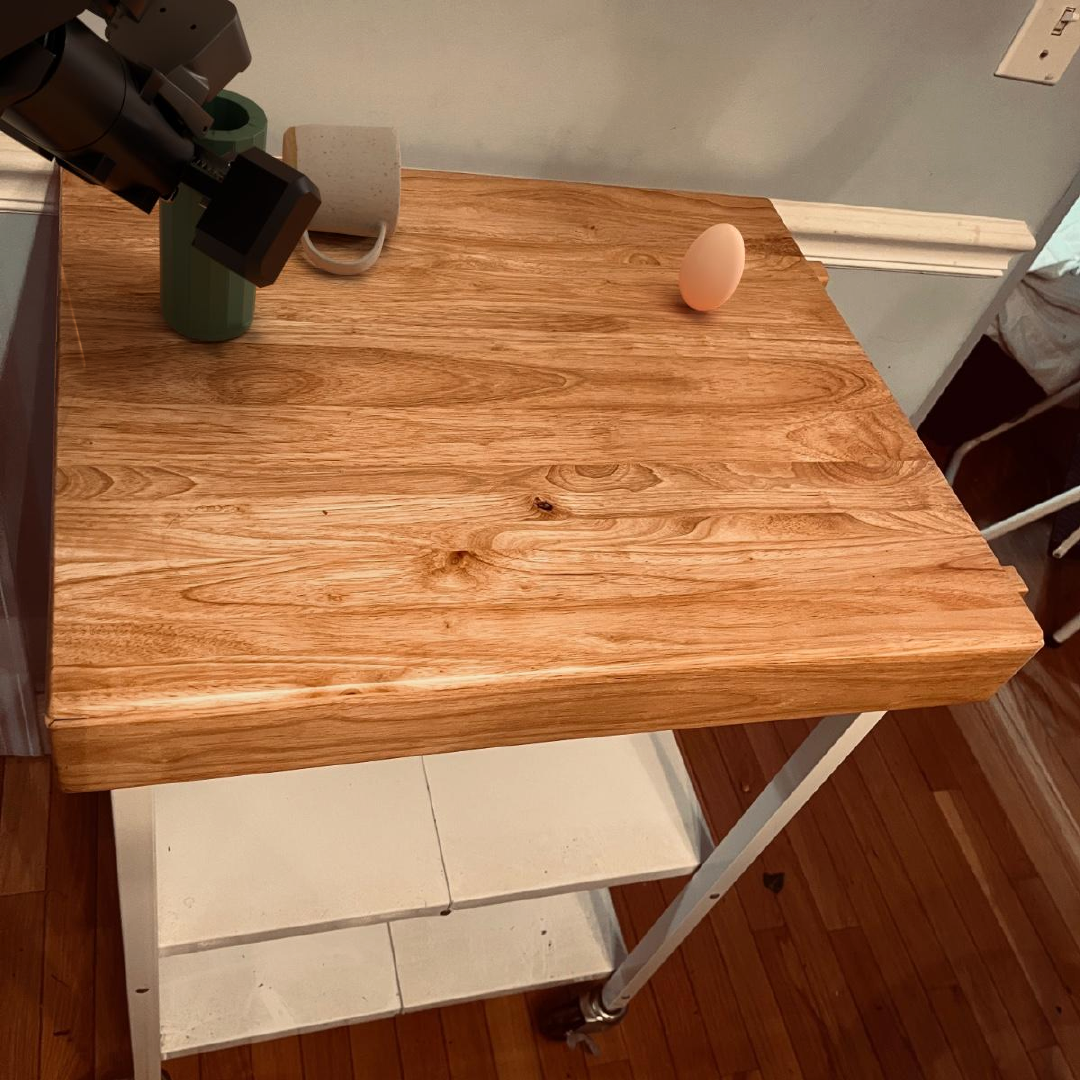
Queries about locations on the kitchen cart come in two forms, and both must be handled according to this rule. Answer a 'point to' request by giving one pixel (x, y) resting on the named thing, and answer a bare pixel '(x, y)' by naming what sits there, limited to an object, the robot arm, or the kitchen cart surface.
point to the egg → (712, 267)
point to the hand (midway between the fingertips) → (225, 213)
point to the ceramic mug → (348, 184)
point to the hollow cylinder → (186, 273)
